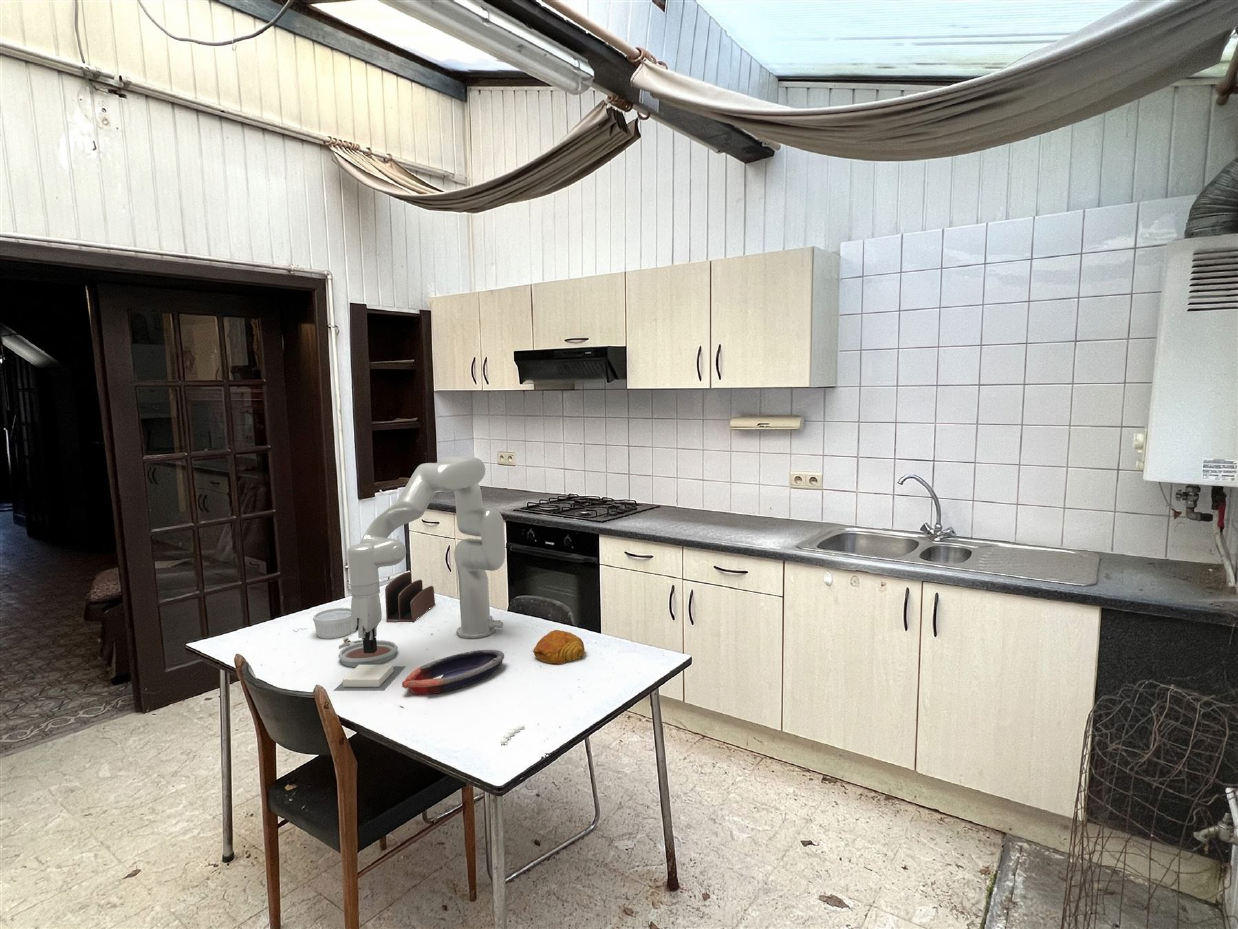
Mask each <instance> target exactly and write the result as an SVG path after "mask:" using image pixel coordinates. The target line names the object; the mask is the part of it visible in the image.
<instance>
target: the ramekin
mask: <svg viewBox="0 0 1238 929" xmlns="http://www.w3.org/2000/svg"><path fill="white" fill-rule="evenodd" d="M312 617H313V618H312V621H313V623H314V628H315V632H316V635H317V636H318V637H319V638H321V639H324V640H326V639H327V640H328V639H329V640H332V639H339V637H340V638H345V637H347V636H348V635H350V634H352V633H353V632H352V628H351V607H333V608H327V609H324V610H319V611H318V612H316V613H315V614H314V615H313V616H312Z"/></svg>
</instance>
